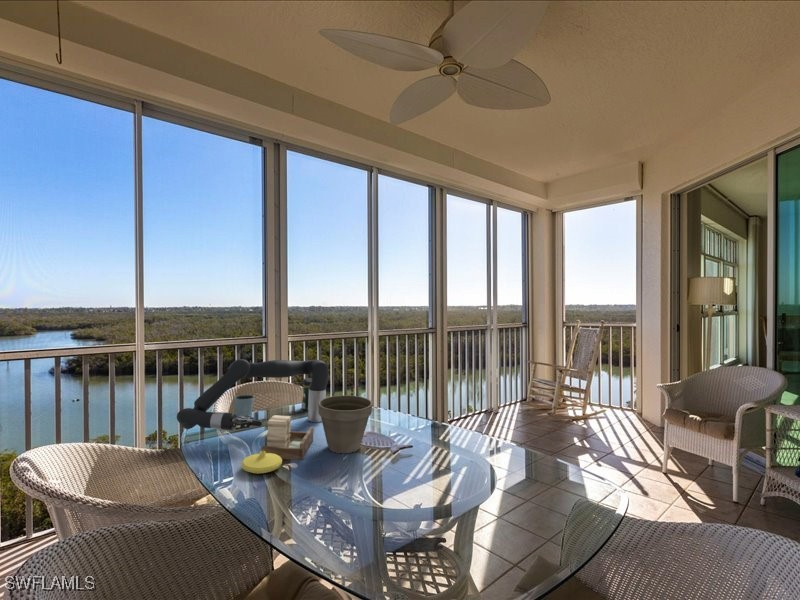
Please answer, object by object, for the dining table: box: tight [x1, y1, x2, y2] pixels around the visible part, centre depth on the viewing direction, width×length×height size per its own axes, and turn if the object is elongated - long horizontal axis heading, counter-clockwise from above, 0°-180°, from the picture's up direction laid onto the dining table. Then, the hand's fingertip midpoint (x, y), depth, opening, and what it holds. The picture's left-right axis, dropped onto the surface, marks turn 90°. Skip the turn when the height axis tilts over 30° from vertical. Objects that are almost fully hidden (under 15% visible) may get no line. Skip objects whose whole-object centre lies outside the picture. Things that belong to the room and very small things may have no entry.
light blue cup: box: [233, 394, 255, 417], centre depth 226 cm, size 10×10×12 cm
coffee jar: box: [301, 377, 312, 411], centre depth 250 cm, size 10×8×19 cm
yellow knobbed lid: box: [240, 450, 283, 475], centre depth 167 cm, size 16×16×7 cm
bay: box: [260, 426, 315, 461], centre depth 188 cm, size 21×18×7 cm
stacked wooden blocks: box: [266, 414, 292, 447], centre depth 188 cm, size 8×8×12 cm
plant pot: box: [318, 394, 373, 455], centre depth 193 cm, size 25×25×22 cm
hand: (261, 423), depth 188 cm, fingers closed
